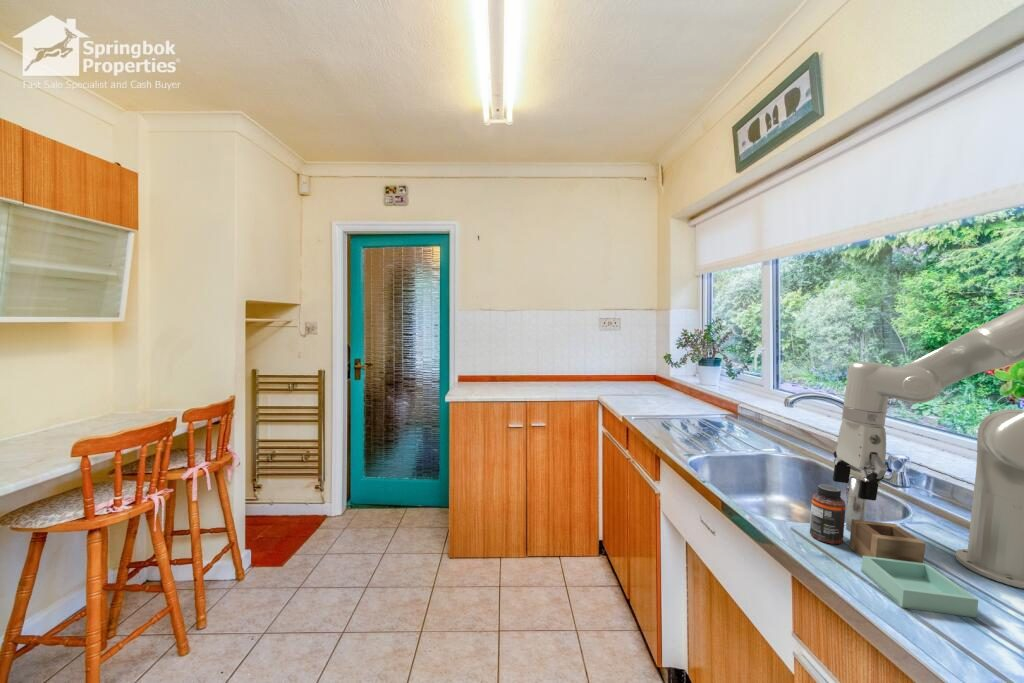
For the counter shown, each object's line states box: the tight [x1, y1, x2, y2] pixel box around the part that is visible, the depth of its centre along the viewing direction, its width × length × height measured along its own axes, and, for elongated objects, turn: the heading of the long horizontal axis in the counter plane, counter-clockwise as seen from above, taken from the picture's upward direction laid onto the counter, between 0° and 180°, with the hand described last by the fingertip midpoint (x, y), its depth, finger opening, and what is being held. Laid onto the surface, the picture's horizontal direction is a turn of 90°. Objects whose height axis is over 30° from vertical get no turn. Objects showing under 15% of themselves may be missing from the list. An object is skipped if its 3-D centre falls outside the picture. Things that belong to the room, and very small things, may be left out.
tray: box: [860, 556, 979, 618], centre depth 75 cm, size 11×11×3 cm
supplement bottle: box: [809, 484, 846, 545], centre depth 94 cm, size 6×6×11 cm
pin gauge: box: [845, 475, 867, 533], centre depth 98 cm, size 3×3×12 cm
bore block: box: [849, 519, 926, 563], centre depth 86 cm, size 8×8×6 cm
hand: (853, 490), depth 99 cm, fingers open, 9 cm apart
